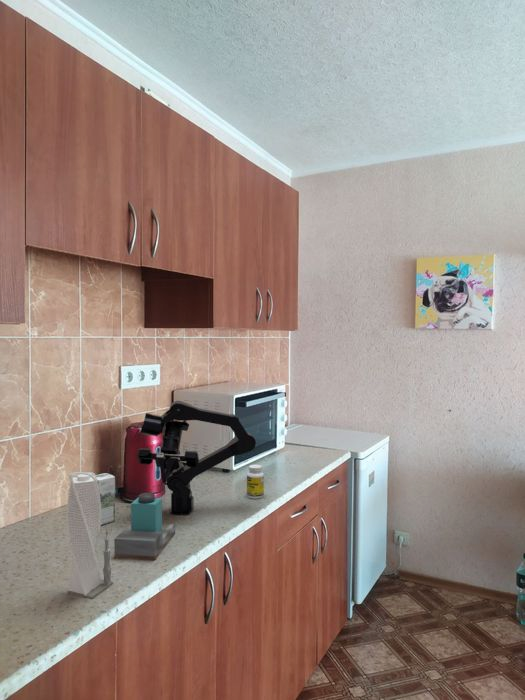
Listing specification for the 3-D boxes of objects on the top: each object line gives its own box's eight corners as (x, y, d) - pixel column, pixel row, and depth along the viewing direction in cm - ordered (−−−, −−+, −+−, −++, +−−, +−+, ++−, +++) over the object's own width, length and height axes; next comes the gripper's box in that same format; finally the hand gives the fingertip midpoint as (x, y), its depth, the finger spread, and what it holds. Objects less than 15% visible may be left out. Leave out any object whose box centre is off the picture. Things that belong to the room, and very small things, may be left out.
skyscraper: (87, 602, 107) (86, 475, 106) (59, 594, 110) (57, 471, 109) (112, 583, 115) (111, 465, 114) (85, 577, 118) (84, 462, 117)
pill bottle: (243, 497, 175) (243, 467, 175) (251, 492, 181) (251, 463, 180) (258, 500, 172) (258, 469, 172) (266, 495, 178) (266, 465, 178)
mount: (139, 531, 145) (139, 515, 145) (175, 533, 143) (175, 516, 143) (114, 557, 128) (114, 538, 128) (154, 560, 127) (154, 541, 126)
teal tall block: (138, 535, 139) (137, 491, 138) (162, 536, 138) (161, 492, 138) (131, 543, 134) (130, 497, 134) (155, 544, 133) (155, 498, 133)
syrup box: (105, 516, 157) (104, 472, 156) (115, 521, 153) (115, 475, 153) (88, 522, 152) (88, 476, 152) (99, 526, 149) (99, 479, 148)
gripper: (202, 452, 165) (196, 496, 154) (146, 449, 165) (137, 492, 154) (200, 434, 156) (193, 480, 146) (142, 431, 156) (131, 476, 146)
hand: (163, 482), depth 148 cm, fingers closed
